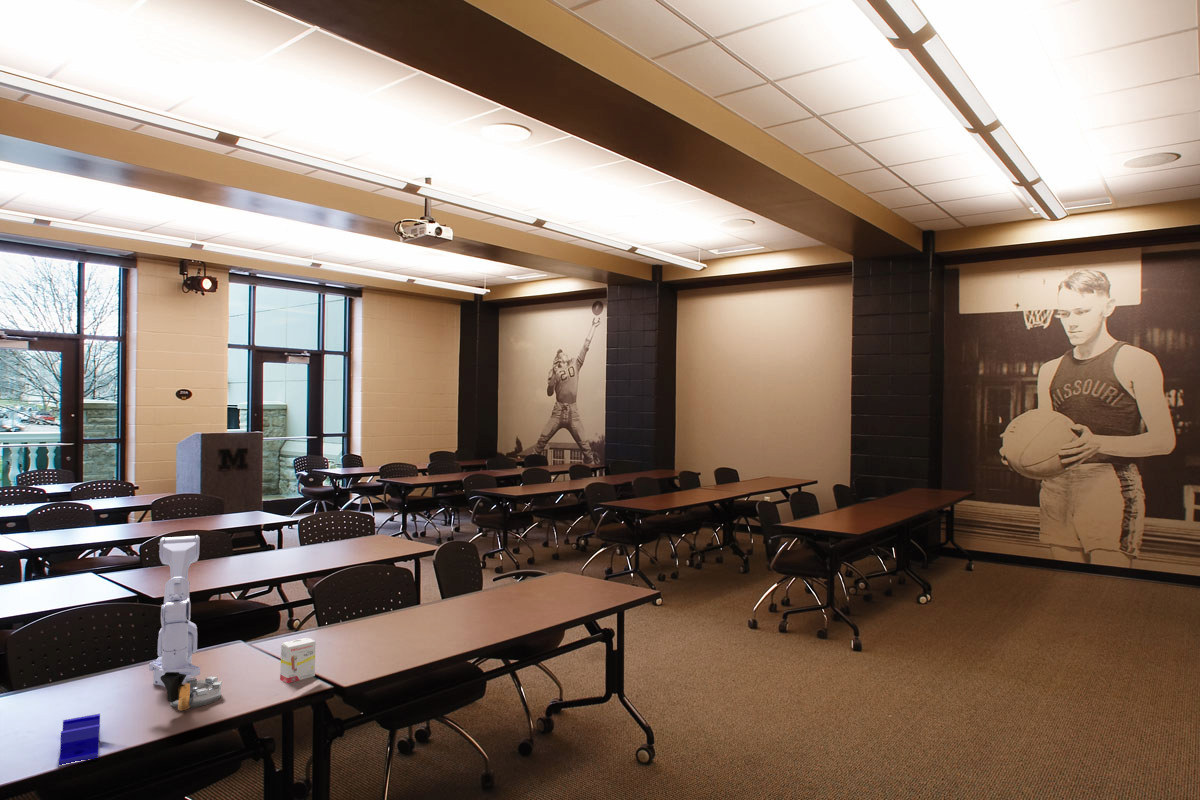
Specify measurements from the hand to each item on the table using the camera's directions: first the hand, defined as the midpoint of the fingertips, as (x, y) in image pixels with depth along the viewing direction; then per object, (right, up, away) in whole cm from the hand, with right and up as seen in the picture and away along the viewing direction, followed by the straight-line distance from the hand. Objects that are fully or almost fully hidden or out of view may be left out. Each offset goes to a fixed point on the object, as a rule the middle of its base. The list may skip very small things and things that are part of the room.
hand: (173, 700), depth 184 cm
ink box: (+21, -6, +27) cm, 34 cm away
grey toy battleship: (+1, -4, +7) cm, 8 cm away
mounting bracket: (-13, -5, -16) cm, 21 cm away
